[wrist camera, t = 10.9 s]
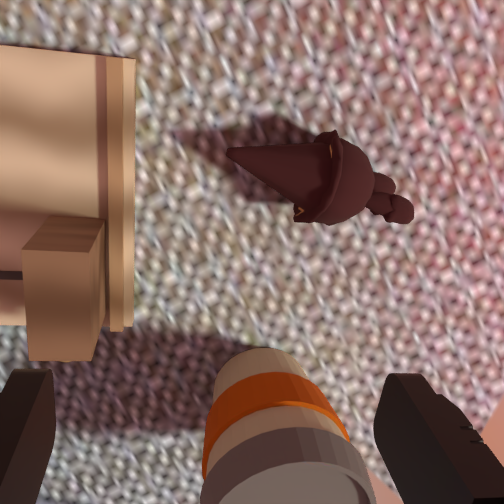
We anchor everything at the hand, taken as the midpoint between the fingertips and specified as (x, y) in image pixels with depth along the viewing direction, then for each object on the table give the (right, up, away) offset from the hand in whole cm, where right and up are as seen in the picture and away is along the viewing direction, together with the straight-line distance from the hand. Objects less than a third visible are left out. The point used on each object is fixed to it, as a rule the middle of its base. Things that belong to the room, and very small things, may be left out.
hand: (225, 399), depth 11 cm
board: (-16, +8, +25) cm, 30 cm away
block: (-13, +2, +26) cm, 29 cm away
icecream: (+5, +10, +27) cm, 30 cm away
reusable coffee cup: (+1, -9, +35) cm, 36 cm away
